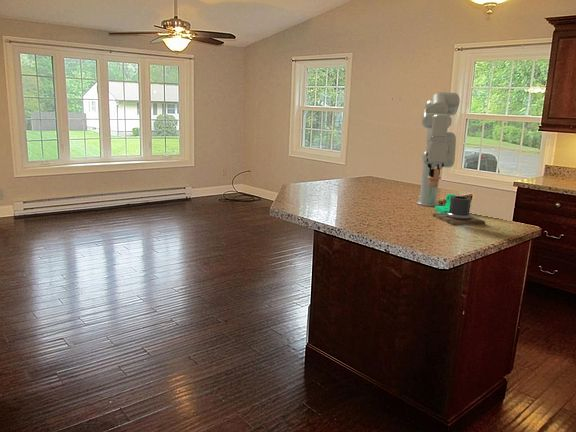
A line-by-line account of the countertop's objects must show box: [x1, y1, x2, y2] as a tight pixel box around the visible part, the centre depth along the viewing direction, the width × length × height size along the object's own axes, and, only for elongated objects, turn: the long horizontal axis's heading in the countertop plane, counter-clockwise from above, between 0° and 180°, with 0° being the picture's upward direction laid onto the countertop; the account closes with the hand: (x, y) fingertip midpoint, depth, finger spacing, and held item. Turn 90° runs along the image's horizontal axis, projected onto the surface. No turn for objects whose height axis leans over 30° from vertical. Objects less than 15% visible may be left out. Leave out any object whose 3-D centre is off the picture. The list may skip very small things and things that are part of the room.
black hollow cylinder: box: [446, 195, 473, 220], centre depth 243 cm, size 12×12×10 cm
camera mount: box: [434, 193, 456, 213], centre depth 260 cm, size 12×8×10 cm, turn 10°
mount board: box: [432, 212, 486, 226], centre depth 245 cm, size 18×18×2 cm
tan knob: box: [427, 167, 441, 188], centre depth 243 cm, size 6×6×9 cm
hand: (434, 176), depth 243 cm, fingers closed on tan knob
